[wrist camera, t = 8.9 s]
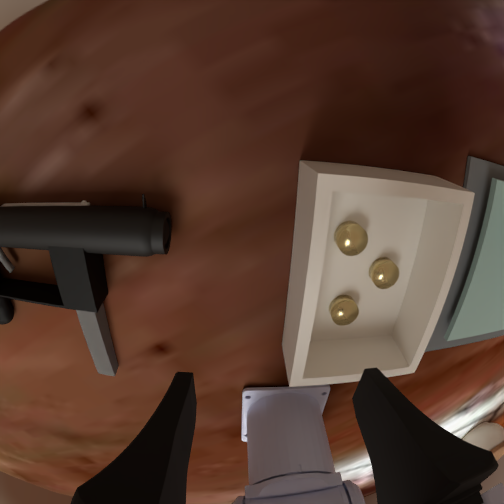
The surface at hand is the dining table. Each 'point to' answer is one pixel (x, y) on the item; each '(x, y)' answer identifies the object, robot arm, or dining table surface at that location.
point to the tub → (357, 269)
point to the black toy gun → (78, 259)
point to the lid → (484, 276)
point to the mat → (467, 250)
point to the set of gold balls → (380, 272)
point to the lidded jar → (487, 438)
